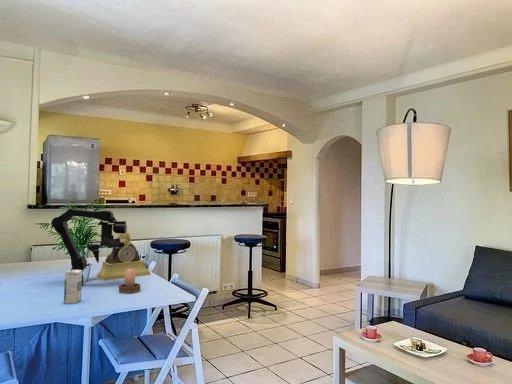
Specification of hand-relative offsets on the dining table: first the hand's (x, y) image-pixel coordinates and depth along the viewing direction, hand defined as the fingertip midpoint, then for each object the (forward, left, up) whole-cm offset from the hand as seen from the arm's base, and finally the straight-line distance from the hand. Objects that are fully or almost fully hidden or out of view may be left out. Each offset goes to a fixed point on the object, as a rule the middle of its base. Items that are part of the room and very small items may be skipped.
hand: (106, 261), depth 210 cm
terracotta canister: (+3, -20, -12) cm, 24 cm away
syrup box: (-26, -21, -13) cm, 36 cm away
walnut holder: (+3, -20, -13) cm, 24 cm away
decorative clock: (+19, +15, -13) cm, 28 cm away
